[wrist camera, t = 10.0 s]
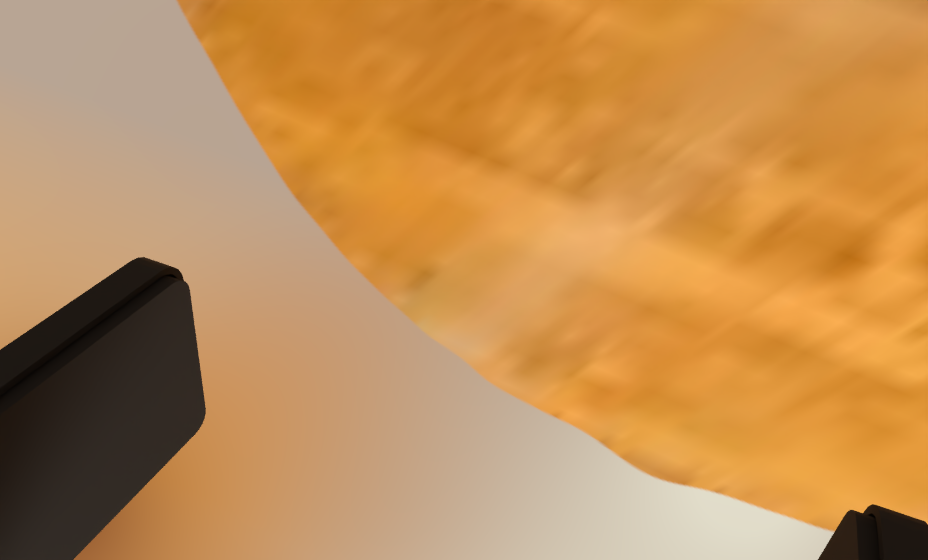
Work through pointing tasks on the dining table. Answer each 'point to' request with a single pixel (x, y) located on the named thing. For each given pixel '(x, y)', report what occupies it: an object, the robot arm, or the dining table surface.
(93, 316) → the robot arm
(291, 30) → the dining table surface
